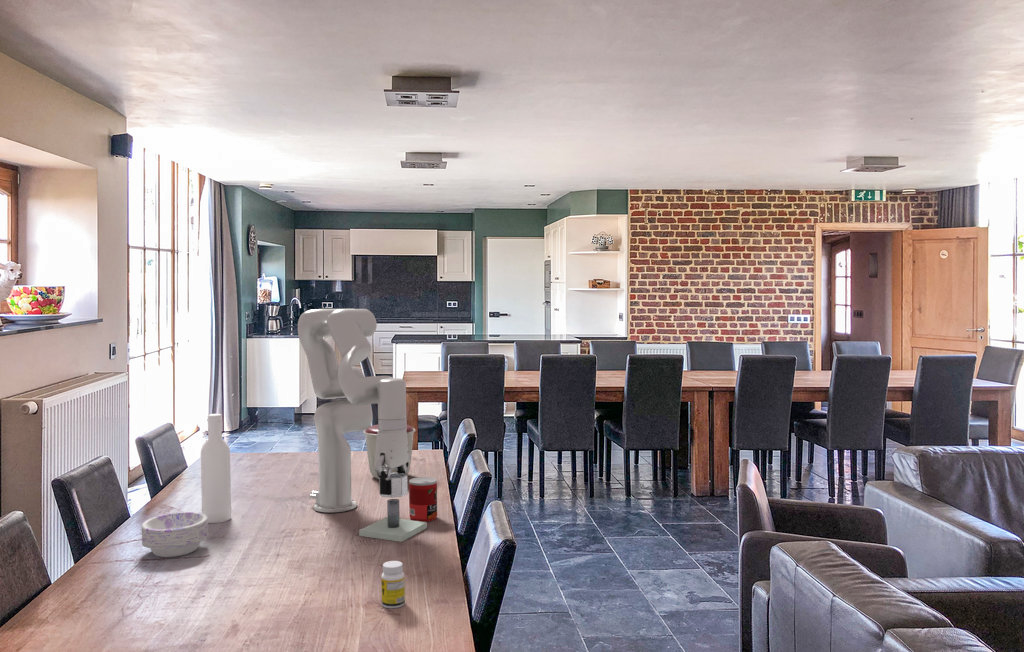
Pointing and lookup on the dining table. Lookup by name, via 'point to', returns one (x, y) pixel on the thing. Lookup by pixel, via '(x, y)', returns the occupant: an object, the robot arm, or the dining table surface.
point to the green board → (393, 530)
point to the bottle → (215, 473)
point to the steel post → (393, 513)
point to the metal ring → (397, 485)
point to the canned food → (423, 499)
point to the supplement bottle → (393, 585)
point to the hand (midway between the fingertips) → (393, 490)
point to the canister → (371, 446)
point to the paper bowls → (174, 533)
